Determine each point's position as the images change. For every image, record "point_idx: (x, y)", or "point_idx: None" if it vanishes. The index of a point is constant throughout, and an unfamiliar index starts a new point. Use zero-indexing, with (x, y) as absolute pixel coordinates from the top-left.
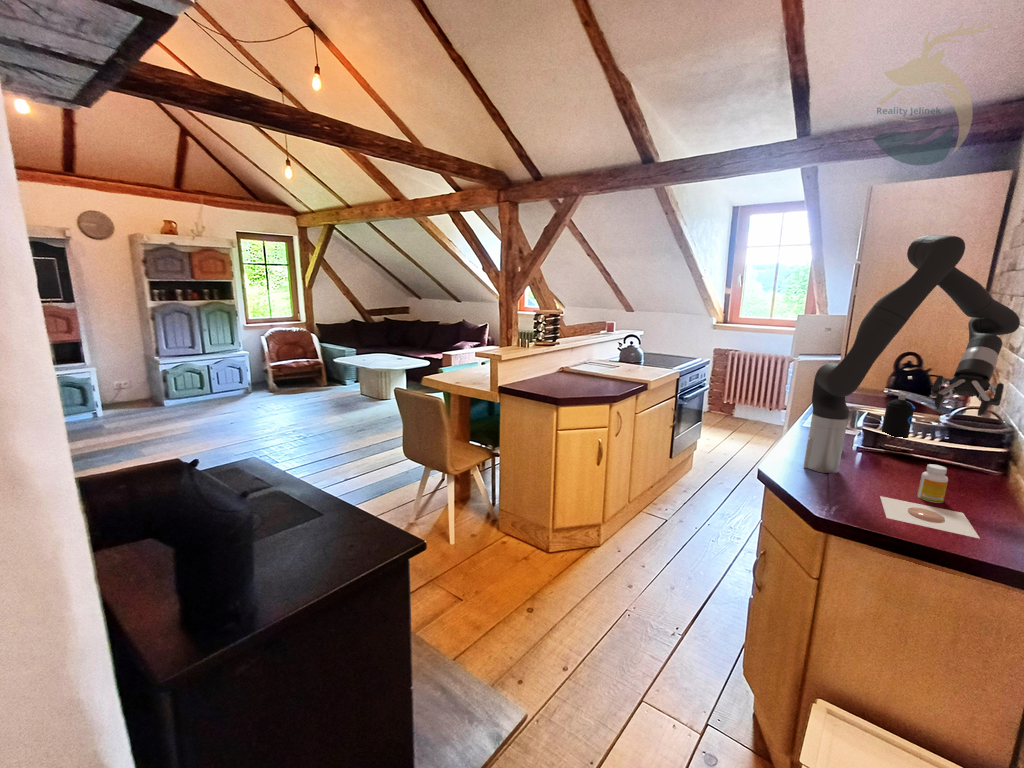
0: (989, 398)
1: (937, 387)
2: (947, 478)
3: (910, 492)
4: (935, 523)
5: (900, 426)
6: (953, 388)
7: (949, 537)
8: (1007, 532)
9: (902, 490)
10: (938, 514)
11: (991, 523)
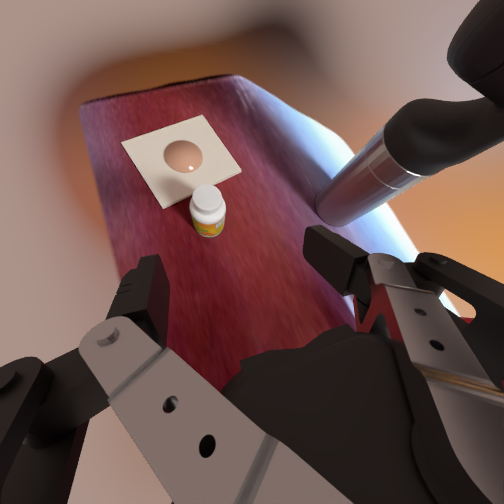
0: (83, 353)
1: (455, 280)
2: (190, 207)
3: (236, 230)
4: (167, 143)
5: None
6: (386, 313)
7: (145, 128)
8: (109, 201)
9: (244, 227)
10: (175, 167)
11: (131, 215)
